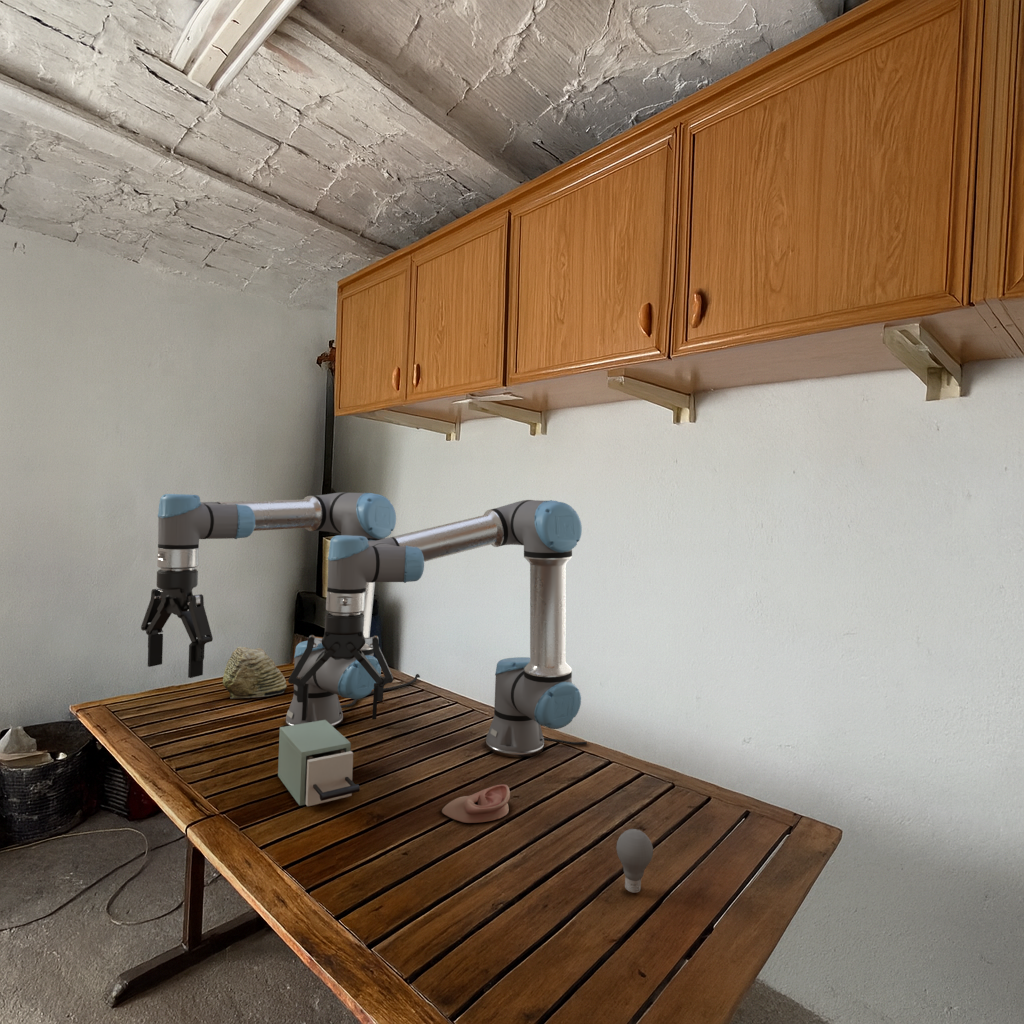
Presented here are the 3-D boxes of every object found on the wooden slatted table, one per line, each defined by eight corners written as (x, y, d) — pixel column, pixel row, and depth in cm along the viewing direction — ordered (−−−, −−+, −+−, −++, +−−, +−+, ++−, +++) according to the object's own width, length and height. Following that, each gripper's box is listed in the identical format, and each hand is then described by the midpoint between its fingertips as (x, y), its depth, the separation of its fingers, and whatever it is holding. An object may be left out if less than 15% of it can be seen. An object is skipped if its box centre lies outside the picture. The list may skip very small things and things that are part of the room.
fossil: (218, 695, 195) (220, 647, 195) (278, 685, 208) (279, 640, 207) (228, 703, 189) (230, 653, 188) (289, 692, 201) (290, 645, 201)
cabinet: (348, 794, 136) (351, 742, 135) (299, 806, 129) (301, 752, 129) (323, 766, 149) (325, 719, 148) (277, 776, 143) (279, 727, 142)
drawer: (362, 807, 128) (364, 763, 128) (317, 819, 122) (318, 773, 122) (327, 769, 145) (329, 730, 145) (286, 778, 139) (287, 737, 139)
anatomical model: (437, 799, 126) (454, 775, 137) (436, 818, 126) (453, 793, 138) (502, 808, 124) (514, 783, 135) (501, 828, 124) (513, 801, 135)
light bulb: (610, 879, 108) (613, 822, 108) (644, 879, 109) (647, 822, 109) (619, 902, 102) (622, 840, 102) (655, 901, 103) (658, 840, 103)
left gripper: (124, 564, 134) (121, 664, 134) (199, 575, 122) (196, 685, 122) (158, 562, 140) (156, 657, 141) (233, 572, 128) (230, 676, 129)
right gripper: (276, 614, 121) (271, 725, 121) (408, 616, 126) (403, 722, 126) (282, 608, 128) (277, 712, 128) (407, 610, 133) (401, 710, 134)
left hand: (174, 670), depth 131 cm, fingers open, 13 cm apart
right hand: (339, 717), depth 127 cm, fingers open, 13 cm apart
